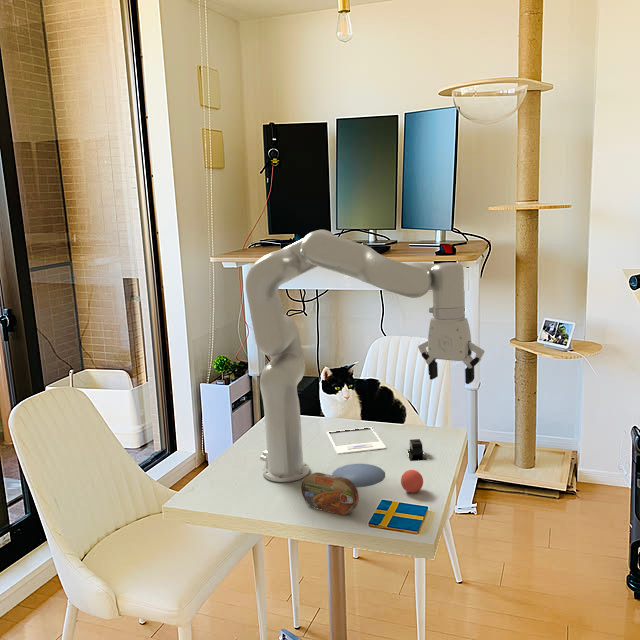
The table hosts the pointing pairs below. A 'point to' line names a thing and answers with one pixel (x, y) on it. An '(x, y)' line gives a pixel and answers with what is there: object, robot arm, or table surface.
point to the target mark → (360, 474)
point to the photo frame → (357, 445)
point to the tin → (330, 493)
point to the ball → (412, 481)
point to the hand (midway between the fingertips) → (451, 380)
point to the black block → (416, 450)
